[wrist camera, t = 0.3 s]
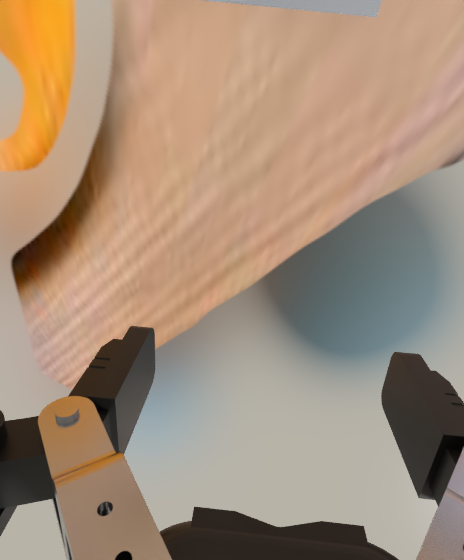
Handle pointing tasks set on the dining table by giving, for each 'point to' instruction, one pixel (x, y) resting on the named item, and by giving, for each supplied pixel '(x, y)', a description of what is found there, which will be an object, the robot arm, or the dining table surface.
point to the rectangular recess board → (319, 5)
